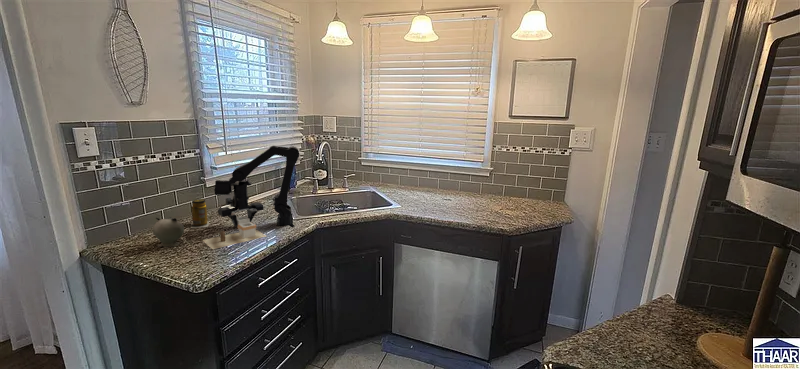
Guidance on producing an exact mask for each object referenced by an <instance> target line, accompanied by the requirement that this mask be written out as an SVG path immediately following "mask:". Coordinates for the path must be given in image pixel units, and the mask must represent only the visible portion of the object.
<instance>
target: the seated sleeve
mask: <svg viewBox="0 0 800 369" xmlns="http://www.w3.org/2000/svg"><path fill="white" fill-rule="evenodd" d="M238 228H239V229H238ZM238 228H237V229H238V231H239V235H240V236H241V237H243V238H248V237H253V236H256V231H255V229H257V225H256V224H255V223H253V222H252V221H251V222H248V223H243V224H238Z"/></svg>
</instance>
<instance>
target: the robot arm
mask: <svg viewBox="0 0 800 369" xmlns="http://www.w3.org/2000/svg"><path fill="white" fill-rule="evenodd" d="M274 156H279V157H284V158H286V159H285V168H284V172H283V176H282V181H281V186H280V189H279V193H278V194H275V195H274V200H273V203H272V206H273V209H274V211H275V212H276V213H277V217H276V225H277V226H279V227H287V226H288V227H290V228H293V227H295V226H296V225H295V224H294V217H293V216H294V214H293V212H292V207H291V206H290V205H289V204H288V195H289V194H288V193H289V190H290V185H291V181H292V177H293V173H294V167H295V166H296V163H298V160H299V157H300V151H299V149H298V148H297V146H294V145H293V146H292V145H291V146H289V147H287V146H286V147H285V146H277V145H271V146H270V147H269V148H268V149H266V150H265V151H263V152H262V153H260V154H259V155H257V156H256V157H254V158H253V159H252V160H251V161H248V162H247V163H244V164H242V165H240V166H237V167H236V168H234V170H233V171H232V174H231V177H230V178H229V179H228V180H225V179H224V180H221V179H215V182H214V183H215V184H214V188H213V189H214V195H215V196H230V195H231V194H232V193H233V196H232V197H228V198H227V197H226V198H225V205H226V206H225V207H224V206H223V207H220V208H218V209H217V214H218V215H219V216H220V217H222V218H225V217H226V218H227V217H228V218H230V220H231V222H232V225H233V227H234V228H235V229H238V228H237V218H238V216H237V214H236V213H237V212H244V211H246V213H247V218H249V219H250V222H252V221H253V219H254V217H255V215H256V214H257V213H258V212H259V211H263V210H265V209H264V208H265V207H264V204H263V203H261V202H259V201H256V202H251V203H250V205H249V200H250V197H249V195H248V186H252V183H253V182H251V181H250V180H249V179H247V180H246V181H245V179H246V178H247V177H249V175H250V174H251V173H252V172H253V171H254V170H255V169H257V168H258V167H260V166H261V165H262V164H263V163H265V162H267V161H268V160H269V159H271V158H272V157H274ZM228 206H230V207H231V208H230V207H228Z"/></svg>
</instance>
